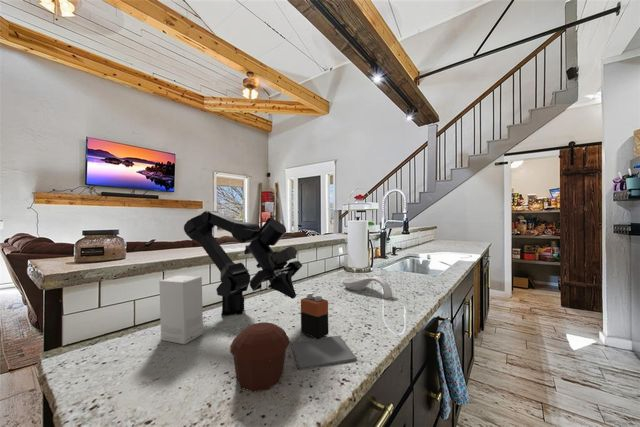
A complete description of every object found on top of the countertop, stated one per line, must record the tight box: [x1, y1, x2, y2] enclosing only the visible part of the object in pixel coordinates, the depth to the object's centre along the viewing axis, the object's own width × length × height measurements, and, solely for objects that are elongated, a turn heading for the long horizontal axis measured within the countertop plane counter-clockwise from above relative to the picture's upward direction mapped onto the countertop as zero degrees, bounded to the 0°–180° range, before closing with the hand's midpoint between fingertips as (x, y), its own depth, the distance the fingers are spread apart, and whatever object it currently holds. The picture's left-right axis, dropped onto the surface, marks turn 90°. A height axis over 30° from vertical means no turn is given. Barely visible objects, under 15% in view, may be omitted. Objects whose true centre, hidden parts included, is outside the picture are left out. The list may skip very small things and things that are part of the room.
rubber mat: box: [290, 335, 358, 370], centre depth 60 cm, size 13×11×1 cm
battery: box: [300, 294, 329, 339], centre depth 69 cm, size 4×7×10 cm, turn 46°
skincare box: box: [158, 274, 204, 345], centre depth 67 cm, size 8×7×16 cm
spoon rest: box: [341, 275, 393, 300], centre depth 109 cm, size 24×12×7 cm, turn 42°
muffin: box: [229, 321, 291, 393], centre depth 51 cm, size 12×11×10 cm
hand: (294, 297), depth 73 cm, fingers closed
